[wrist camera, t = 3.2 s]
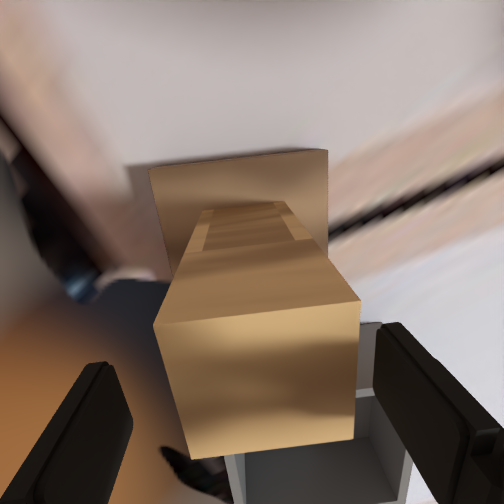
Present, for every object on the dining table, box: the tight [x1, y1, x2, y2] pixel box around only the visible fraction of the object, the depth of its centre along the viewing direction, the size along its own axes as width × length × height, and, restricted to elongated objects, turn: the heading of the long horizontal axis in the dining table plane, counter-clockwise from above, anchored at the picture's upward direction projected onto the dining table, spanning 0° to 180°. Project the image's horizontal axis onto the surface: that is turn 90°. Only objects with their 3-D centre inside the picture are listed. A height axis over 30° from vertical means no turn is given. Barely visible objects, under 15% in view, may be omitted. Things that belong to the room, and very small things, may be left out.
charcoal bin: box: [224, 322, 413, 504], centre depth 26 cm, size 16×16×7 cm
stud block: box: [148, 149, 328, 278], centre depth 18 cm, size 12×12×9 cm
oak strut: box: [153, 201, 361, 459], centre depth 15 cm, size 6×6×13 cm
